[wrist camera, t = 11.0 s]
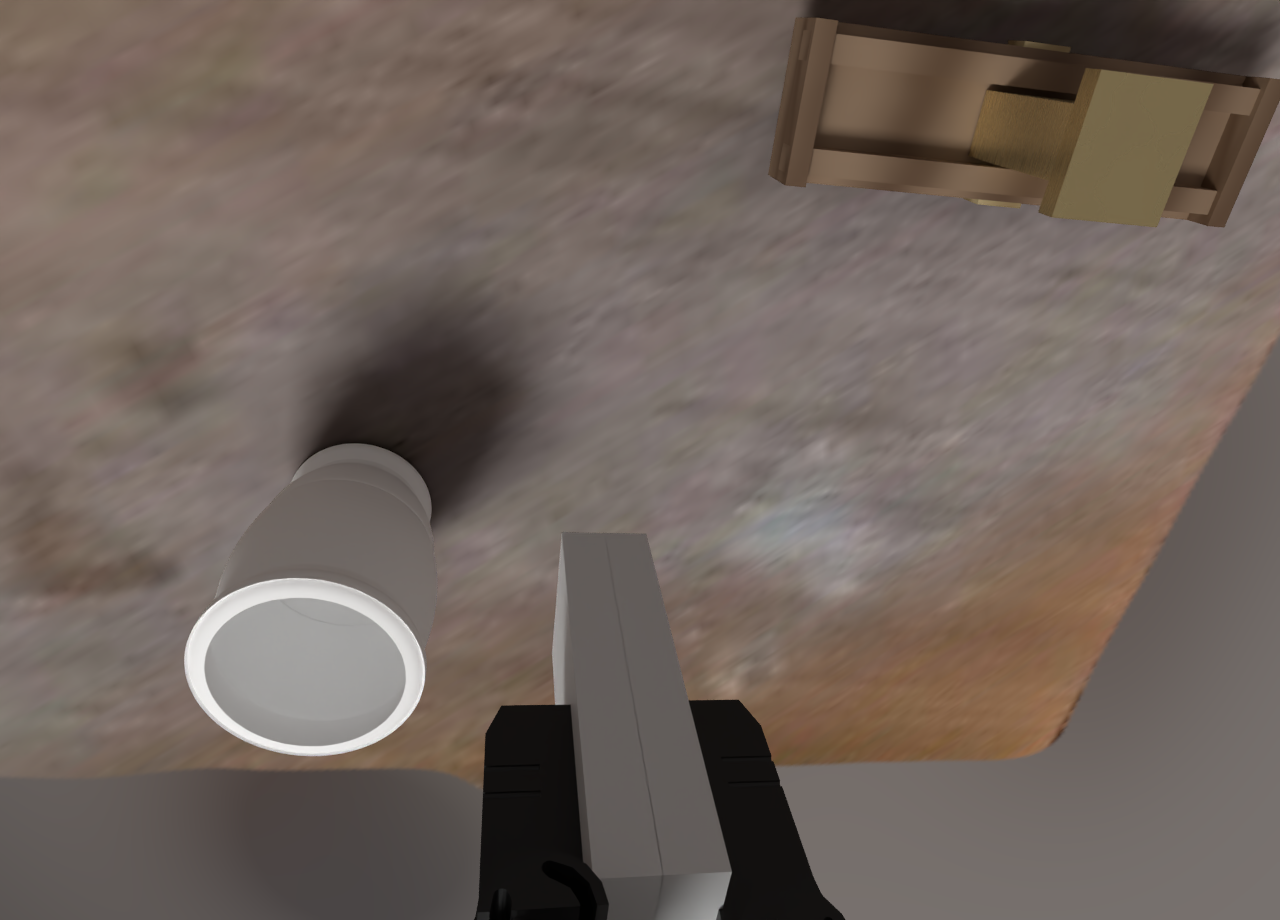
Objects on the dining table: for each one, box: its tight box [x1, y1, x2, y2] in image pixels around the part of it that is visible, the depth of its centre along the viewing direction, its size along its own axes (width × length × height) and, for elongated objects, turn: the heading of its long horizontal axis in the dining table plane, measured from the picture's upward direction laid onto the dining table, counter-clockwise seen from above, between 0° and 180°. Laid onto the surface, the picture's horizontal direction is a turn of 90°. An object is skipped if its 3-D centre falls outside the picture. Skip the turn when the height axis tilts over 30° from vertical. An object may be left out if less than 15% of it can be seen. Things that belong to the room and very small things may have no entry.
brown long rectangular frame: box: [768, 18, 1280, 227], centre depth 41 cm, size 24×8×6 cm, turn 84°
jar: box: [184, 443, 438, 756], centre depth 43 cm, size 11×10×15 cm
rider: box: [968, 68, 1214, 227], centre depth 37 cm, size 5×6×8 cm
